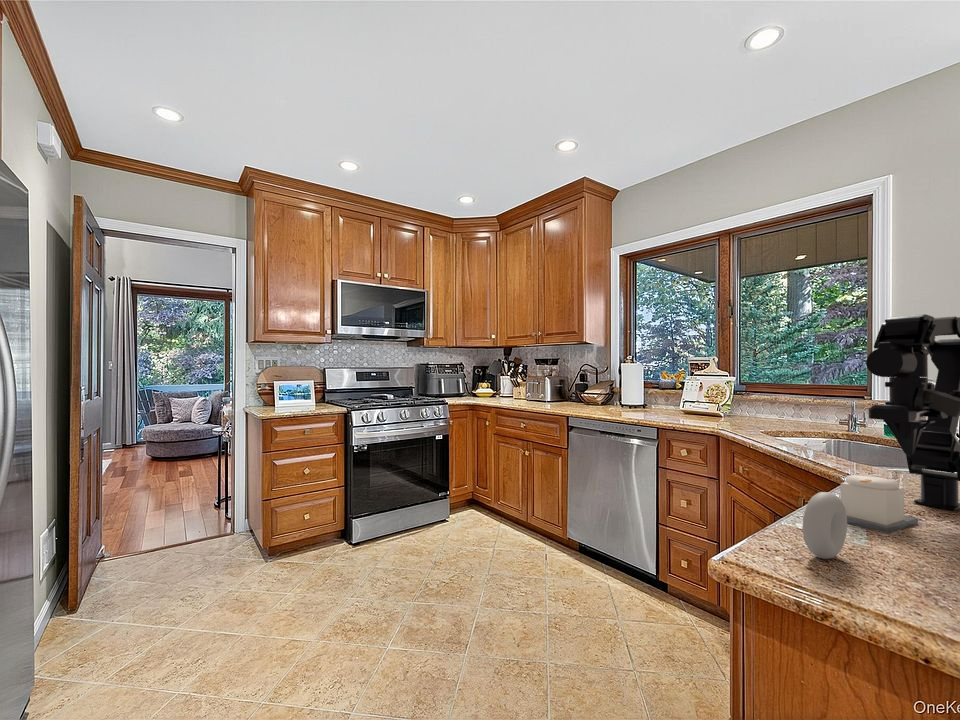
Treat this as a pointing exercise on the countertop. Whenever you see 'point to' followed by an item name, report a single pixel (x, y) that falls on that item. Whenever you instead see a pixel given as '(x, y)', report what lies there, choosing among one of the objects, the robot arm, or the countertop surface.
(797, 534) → the countertop surface
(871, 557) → the countertop surface
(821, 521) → the donut
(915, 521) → the plate
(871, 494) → the knob
